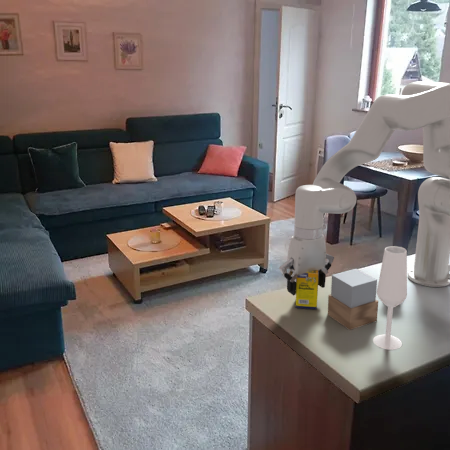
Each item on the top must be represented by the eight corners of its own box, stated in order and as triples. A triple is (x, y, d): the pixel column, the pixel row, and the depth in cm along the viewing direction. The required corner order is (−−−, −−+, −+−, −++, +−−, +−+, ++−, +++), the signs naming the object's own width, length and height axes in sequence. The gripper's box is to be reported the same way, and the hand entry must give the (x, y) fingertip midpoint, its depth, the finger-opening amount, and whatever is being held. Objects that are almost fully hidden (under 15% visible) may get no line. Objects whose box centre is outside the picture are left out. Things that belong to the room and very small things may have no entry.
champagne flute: (385, 352, 115) (394, 257, 107) (367, 338, 120) (373, 247, 113) (408, 345, 117) (418, 252, 109) (388, 331, 123) (396, 242, 115)
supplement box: (317, 309, 135) (318, 273, 131) (295, 308, 136) (295, 272, 132) (317, 299, 140) (318, 264, 137) (296, 298, 141) (297, 263, 138)
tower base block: (354, 306, 136) (355, 287, 134) (376, 321, 128) (378, 301, 126) (327, 314, 132) (328, 294, 130) (349, 330, 124) (350, 309, 123)
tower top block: (354, 288, 133) (356, 268, 131) (375, 300, 126) (377, 279, 124) (331, 295, 130) (331, 274, 128) (351, 308, 123) (352, 286, 121)
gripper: (326, 222, 138) (323, 278, 143) (273, 232, 131) (272, 290, 136) (343, 230, 131) (339, 288, 137) (288, 241, 124) (287, 302, 130)
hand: (306, 289), depth 136 cm, fingers open, 9 cm apart
